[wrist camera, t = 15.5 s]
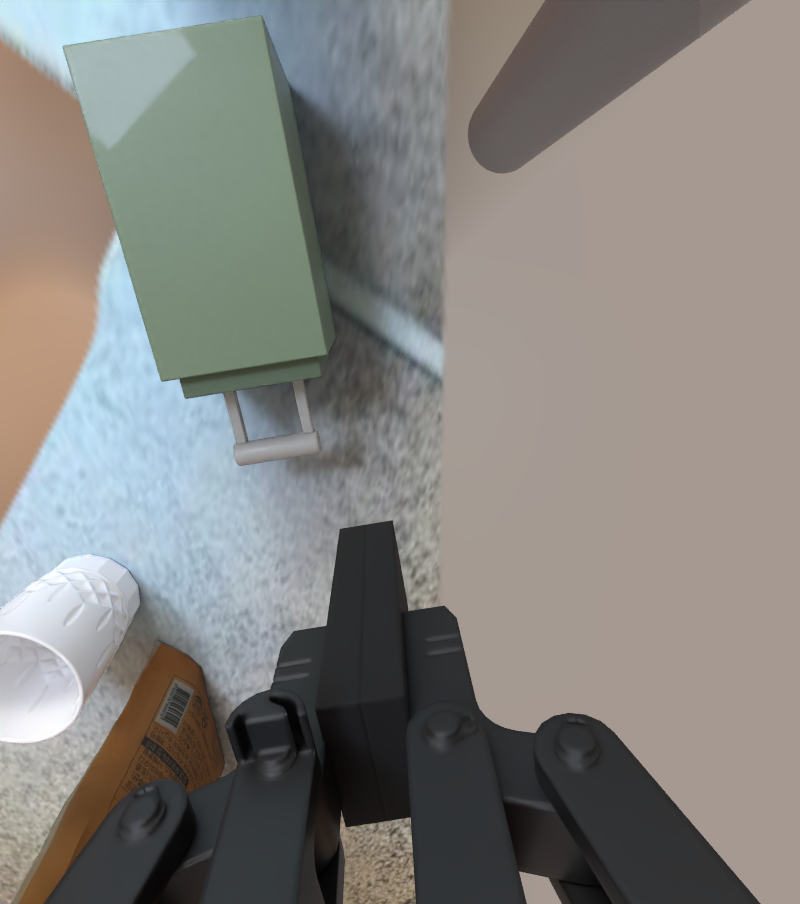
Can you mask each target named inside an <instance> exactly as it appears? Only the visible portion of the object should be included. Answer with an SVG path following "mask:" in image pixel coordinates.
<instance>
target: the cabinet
mask: <svg viewBox="0 0 800 904" xmlns="http://www.w3.org/2000/svg"><path fill="white" fill-rule="evenodd" d="M63 50H64V53H65V57H66V60H67V63H68V67H69V70H70V74H71V77H72V80H73V84H74V87H75V91H76V94H77V97H78V101H79V104H80V108H81V111H82V114H83V118H84V121H85V124H86V128H87V131H88V134H89V138H90V141H91V145H92V148H93V151H94V155H95V158H96V162H97V165H98V168H99V172H100V175H101V179H102V182H103V186H104V189H105V192H106V196H107V199H108V203H109V206H110V209H111V213H112V216H113V220H114V223H115V226H116V230H117V233H118V236H119V240H120V243H121V247H122V250H123V253H124V257H125V260H126V264H127V267H128V270H129V274H130V277H131V281H132V284H133V287H134V291H135V294H136V298H137V301H138V304H139V308H140V311H141V315H142V318H143V321H144V325H145V328H146V331H147V335H148V338H149V342H150V345H151V348H152V352H153V355H154V359H155V362H156V365H157V369H158V372H159V376H160V379H161V381H169V380H175V379H181V378H188V377H194V376H200V375H206V374H212V373H219V372H225V371H231V370H237V369H243V368H249V367H256V366H262V365H268V364H274V363H280V362H287V361H293V360H299V359H305V358H311V357H318V356H324V355H327V354H328V352H329V350H330V348H331V346H332V344H333V343H334V341H335V339H336V333H335V327H334V322H333V317H332V311H331V306H330V301H329V295H328V290H327V284H326V279H325V274H324V268H323V263H322V258H321V252H320V247H319V241H318V236H317V231H316V225H315V220H314V215H313V209H312V204H311V199H310V193H309V188H308V182H307V177H306V172H305V166H304V161H303V156H302V150H301V145H300V139H299V134H298V129H297V123H296V118H295V113H294V107H293V102H292V97H291V91H290V86H289V83H288V80H287V78H286V75H285V73H284V70H283V68H282V65H281V63H280V60H279V58H278V55H277V53H276V50H275V48H274V45H273V42H272V40H271V37H270V35H269V32H268V30H267V27H266V25H265V22H264V20H263V17H262V16H261V15H260V16H254V17H247V18H241V19H234V20H228V21H221V22H215V23H208V24H202V25H195V26H189V27H182V28H176V29H170V30H163V31H157V32H150V33H144V34H137V35H131V36H124V37H118V38H111V39H105V40H98V41H92V42H85V43H79V44H73V45H66V46H63Z"/></svg>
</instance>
